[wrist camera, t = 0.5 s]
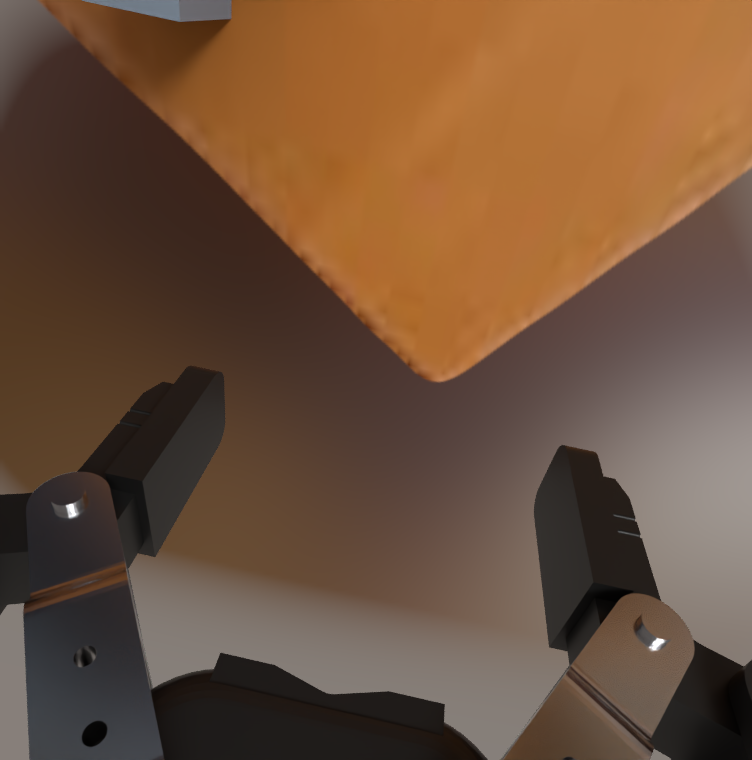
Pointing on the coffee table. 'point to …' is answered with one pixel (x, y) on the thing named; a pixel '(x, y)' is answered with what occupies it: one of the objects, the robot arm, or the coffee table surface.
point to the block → (174, 8)
